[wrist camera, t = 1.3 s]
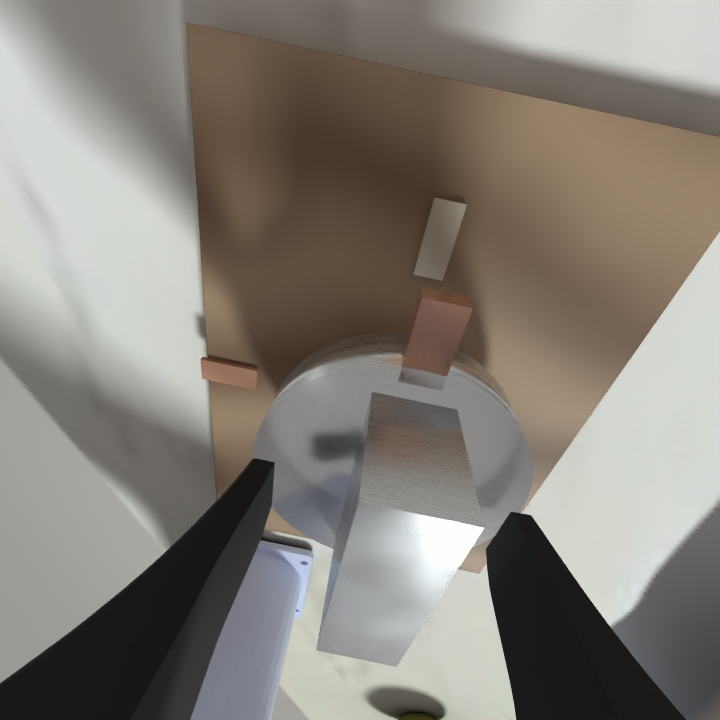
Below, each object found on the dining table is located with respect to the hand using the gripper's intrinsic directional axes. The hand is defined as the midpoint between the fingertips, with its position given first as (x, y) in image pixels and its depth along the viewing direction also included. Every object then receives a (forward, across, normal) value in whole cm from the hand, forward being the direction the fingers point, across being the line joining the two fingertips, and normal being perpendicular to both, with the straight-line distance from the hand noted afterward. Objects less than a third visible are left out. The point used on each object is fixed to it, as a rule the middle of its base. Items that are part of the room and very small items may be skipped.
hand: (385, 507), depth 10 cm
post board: (+6, 0, 0) cm, 6 cm away
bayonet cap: (+3, 0, -1) cm, 3 cm away
